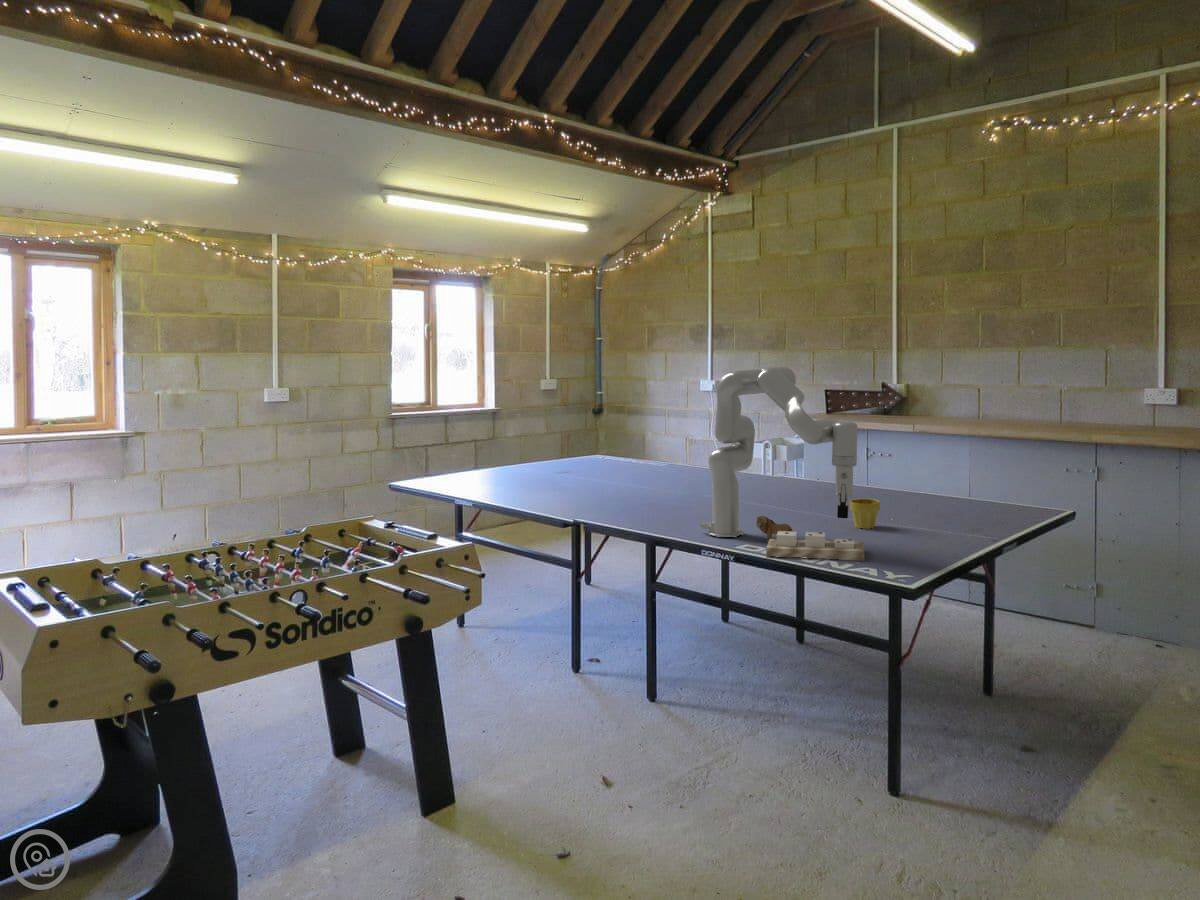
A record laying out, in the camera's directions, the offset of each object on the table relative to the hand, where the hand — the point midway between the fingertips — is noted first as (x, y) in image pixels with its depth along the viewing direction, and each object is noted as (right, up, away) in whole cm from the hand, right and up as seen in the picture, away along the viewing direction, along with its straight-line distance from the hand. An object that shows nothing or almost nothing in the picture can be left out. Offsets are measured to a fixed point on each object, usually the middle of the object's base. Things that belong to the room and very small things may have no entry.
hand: (842, 517), depth 275 cm
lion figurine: (-17, -10, +21) cm, 29 cm away
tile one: (-17, -10, +6) cm, 20 cm away
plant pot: (+19, -7, +40) cm, 45 cm away
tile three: (+1, -12, +1) cm, 12 cm away
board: (-8, -12, +3) cm, 15 cm away
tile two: (-8, -10, +3) cm, 13 cm away
